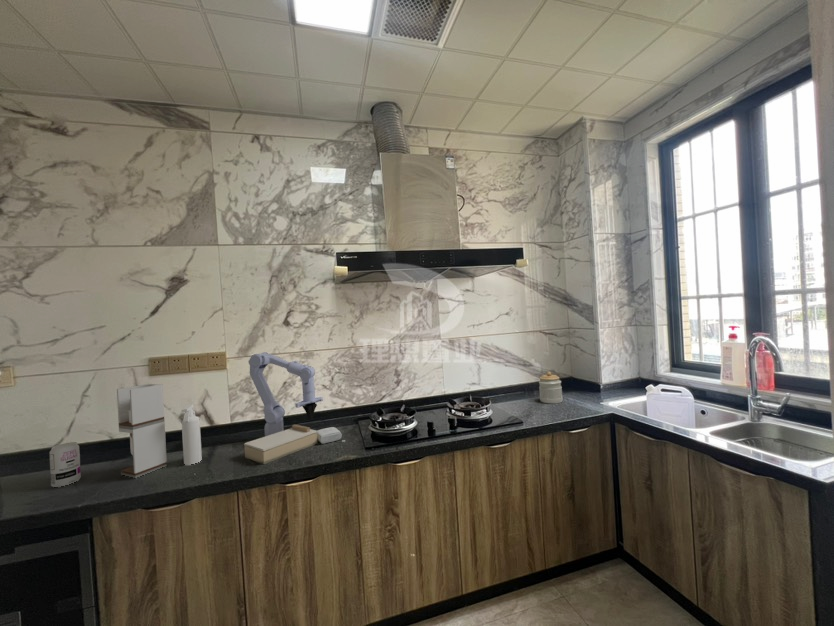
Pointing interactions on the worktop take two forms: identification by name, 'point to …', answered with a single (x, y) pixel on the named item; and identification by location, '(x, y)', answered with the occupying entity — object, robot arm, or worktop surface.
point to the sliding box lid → (280, 438)
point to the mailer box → (280, 449)
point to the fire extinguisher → (191, 436)
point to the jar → (550, 389)
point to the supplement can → (65, 464)
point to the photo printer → (328, 435)
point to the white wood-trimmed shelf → (143, 427)
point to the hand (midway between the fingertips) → (310, 418)
